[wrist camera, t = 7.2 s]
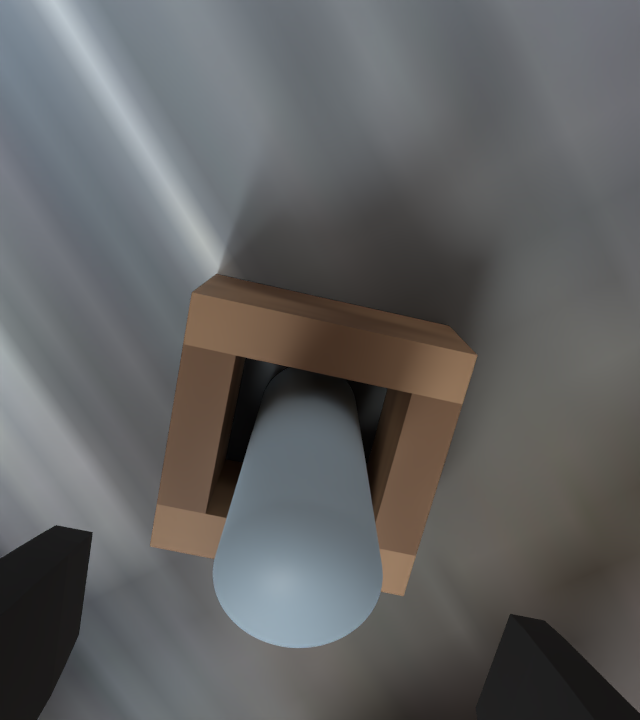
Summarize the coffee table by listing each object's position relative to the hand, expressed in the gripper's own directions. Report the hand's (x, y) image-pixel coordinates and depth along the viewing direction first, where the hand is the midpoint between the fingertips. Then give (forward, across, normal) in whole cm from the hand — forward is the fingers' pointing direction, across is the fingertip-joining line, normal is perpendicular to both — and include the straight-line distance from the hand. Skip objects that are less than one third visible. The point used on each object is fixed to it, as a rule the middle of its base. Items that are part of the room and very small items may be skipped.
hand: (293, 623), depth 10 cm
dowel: (+10, 0, 0) cm, 10 cm away
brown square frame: (+10, 0, 0) cm, 10 cm away
